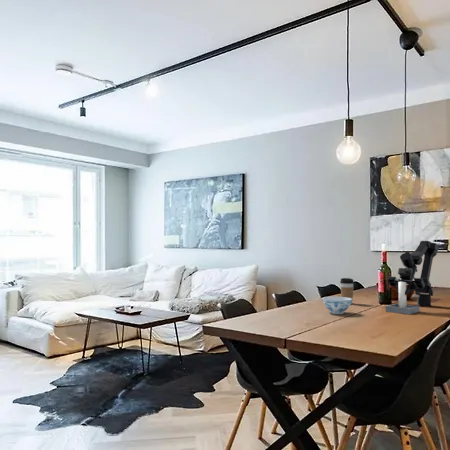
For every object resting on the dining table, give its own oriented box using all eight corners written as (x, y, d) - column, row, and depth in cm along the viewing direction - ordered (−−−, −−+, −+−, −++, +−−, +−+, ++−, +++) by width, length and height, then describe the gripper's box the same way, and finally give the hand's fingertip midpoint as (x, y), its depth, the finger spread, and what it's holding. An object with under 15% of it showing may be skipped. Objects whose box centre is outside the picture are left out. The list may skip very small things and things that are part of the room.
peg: (401, 307, 245) (401, 281, 246) (408, 308, 242) (407, 282, 242) (397, 307, 243) (396, 281, 244) (403, 308, 240) (403, 282, 240)
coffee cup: (352, 302, 277) (352, 278, 277) (355, 304, 269) (355, 279, 269) (339, 302, 278) (338, 278, 278) (341, 304, 269) (341, 279, 270)
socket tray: (395, 308, 252) (395, 303, 252) (419, 311, 243) (419, 306, 243) (385, 311, 242) (385, 306, 243) (409, 314, 233) (409, 308, 233)
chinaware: (355, 315, 230) (355, 300, 230) (326, 315, 230) (326, 300, 230) (347, 310, 245) (347, 296, 245) (319, 310, 245) (319, 296, 245)
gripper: (388, 262, 253) (380, 283, 245) (422, 263, 240) (414, 285, 231) (394, 275, 258) (386, 296, 250) (428, 277, 245) (420, 299, 237)
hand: (401, 294), depth 242 cm, fingers closed on peg, 4 cm apart
